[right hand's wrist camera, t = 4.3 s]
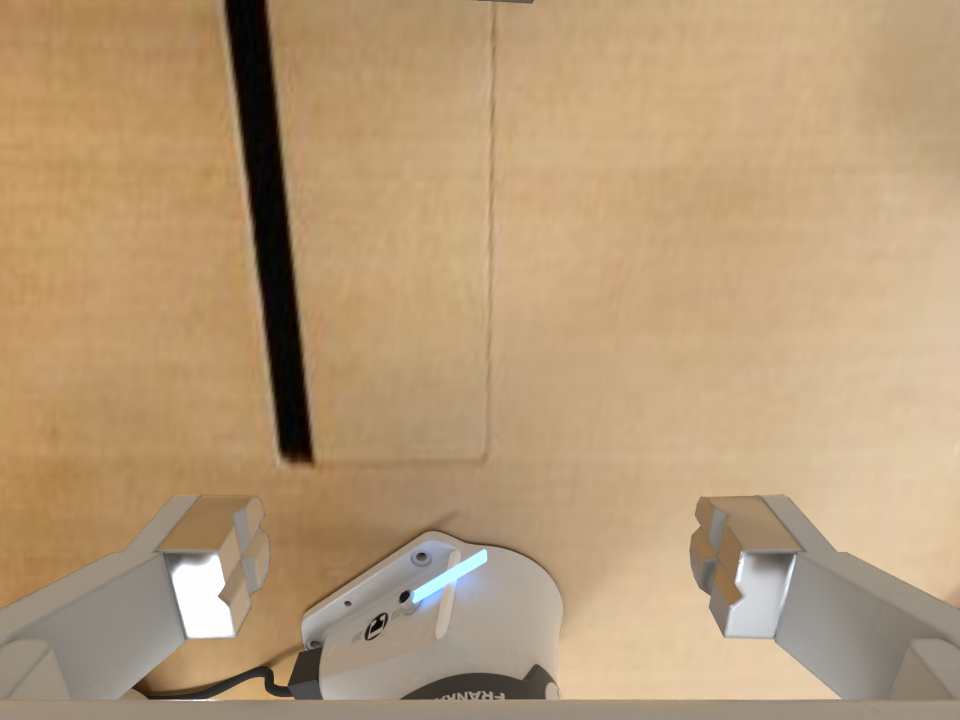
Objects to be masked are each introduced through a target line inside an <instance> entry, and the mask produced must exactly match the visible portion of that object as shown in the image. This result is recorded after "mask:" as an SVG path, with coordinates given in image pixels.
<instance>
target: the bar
mask: <svg viewBox="0 0 960 720" xmlns="http://www.w3.org/2000/svg"><path fill="white" fill-rule="evenodd" d="M479 1H497V2H514V3H533V1H534V0H479Z"/></svg>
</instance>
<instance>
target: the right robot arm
mask: <svg viewBox="0 0 960 720" xmlns="http://www.w3.org/2000/svg"><path fill="white" fill-rule="evenodd" d="M264 516H265V513H264V508H263V503H262V500H261V499H260V498H259V497H258V496H232V495H204V496H203V495H177V496H173V497H171V498H170V499H169V500H168V501H167V502H166V503H165V505H164V506H163V507H162V508H161V509H160V510H159V511H158V512H157V514H156V515H155V516H154V517H153V518H152V519H151V520H150V522H149V523H148V524H147V525H146V526H145V527H144V528H143V529H142V531H141V532H140V533H139V534H138V535H137V536H136V537H135V538H134V540H133V541H132V542H131V543H130V544H129V545H128V546H127V547H126V549H125V550H124V551H123V552H113V553H111V554H109V555H107V556H105V557H103V558H101V559H99V560H97V561H95V562H93V563H91V564H89V565H87V566H85V567H83V568H81V569H79V570H77V571H75V572H73V573H71V574H69V575H67V576H65V577H64V578H62V579H60V580H58V581H56V582H54V583H52V584H50V585H48V586H46V587H44V588H42V589H40V590H38V591H36V592H34V593H32V594H30V595H28V596H26V597H24V598H22V599H20V600H18V601H16V602H14V603H12V604H10V605H8V606H6V607H4V608H2V609H0V720H960V610H959V609H957V608H956V607H954V606H952V605H950V604H948V603H946V602H944V601H942V600H940V599H938V598H936V597H934V596H932V595H930V594H928V593H926V592H924V591H922V590H920V589H918V588H916V587H914V586H912V585H910V584H908V583H906V582H904V581H902V580H900V579H898V578H896V577H894V576H892V575H890V574H888V573H886V572H885V571H883V570H881V569H879V568H877V567H875V566H873V565H871V564H869V563H867V562H865V561H863V560H861V559H859V558H857V557H855V556H853V555H851V554H849V553H847V552H837V551H836V550H835V549H834V548H833V546H832V545H831V544H830V543H829V542H828V541H827V540H826V538H825V537H824V536H823V535H822V534H821V533H820V532H819V531H818V529H817V528H816V527H815V526H814V525H813V524H812V523H811V522H810V520H809V519H808V518H807V517H806V516H805V515H804V514H803V513H802V511H801V510H800V509H799V508H798V507H797V506H796V505H795V503H794V502H793V501H792V500H791V499H790V498H789V497H787V496H785V495H783V494H781V495H755V496H716V497H700V499H699V501H698V503H697V507H696V512H695V516H696V518H697V520H698V522H699V523H700V525H701V526H700V527H699V528H698V529H697V530H696V531H695V532H694V533H693V534H692V536H691V544H690V561H691V568H692V571H693V575H694V578H695V580H696V582H697V584H698V586H699V588H700V589H702V590H703V591H704V592H706V593H707V594H709V595H710V596H711V598H710V604H709V608H710V610H711V612H712V614H713V616H714V618H715V620H716V622H717V624H718V626H719V628H720V630H721V632H722V634H723V636H724V638H747V639H775V642H776V643H777V644H778V645H779V646H780V647H782V648H783V649H784V650H785V651H786V652H787V653H789V654H790V655H791V656H792V657H793V658H795V659H796V660H797V661H798V662H799V663H800V664H802V665H803V666H804V667H805V668H806V669H808V670H809V671H810V672H811V673H812V674H813V675H815V676H816V677H817V678H818V679H819V680H820V681H822V682H823V683H824V684H825V685H826V686H828V687H829V688H830V689H831V690H832V691H833V692H835V693H836V694H837V695H838V696H839V697H841V698H842V699H834V700H563V698H562V695H561V693H560V690H559V688H558V645H559V635H560V629H561V624H562V619H563V602H562V597H561V594H560V592H559V589H558V587H557V585H556V584H555V582H554V580H553V579H552V578H551V576H550V575H549V574H548V573H547V572H546V571H545V570H544V569H543V568H542V567H541V566H539V565H538V564H537V563H535V562H534V561H532V560H531V559H529V558H527V557H525V556H523V555H521V554H519V553H516V552H514V551H511V550H507V549H504V548H499V547H493V546H484V545H474V544H468V543H464V542H462V541H460V540H458V539H456V538H454V537H452V536H449V535H447V534H444V533H441V532H437V531H429V532H426V533H424V534H422V535H420V536H419V537H417V538H416V539H414V540H413V541H411V542H410V543H408V544H407V545H405V546H404V547H402V548H401V549H399V550H398V551H396V552H395V553H393V554H392V555H390V556H389V557H387V558H386V559H384V560H383V561H381V562H380V563H378V564H377V565H375V566H374V567H372V568H371V569H369V570H368V571H366V572H365V573H363V574H362V575H360V576H359V577H357V578H356V579H354V580H353V581H351V582H350V583H348V584H347V585H345V586H344V587H342V588H341V589H339V590H338V591H336V592H335V593H333V594H332V595H330V596H329V597H327V598H326V599H324V600H323V601H321V602H320V603H318V604H317V605H315V606H314V607H312V608H311V609H309V610H308V611H307V612H306V613H305V614H304V615H303V619H302V623H301V634H302V640H303V644H304V646H305V649H306V651H303V652H299V655H298V658H297V660H296V663H295V666H294V669H293V672H292V675H291V677H290V680H289V683H288V687H284V686H278V685H275V684H274V674H273V671H272V670H271V669H269V668H265V667H260V668H255V669H252V670H250V671H247V672H245V673H242V674H240V675H238V676H235V677H233V678H230V679H228V680H227V681H225V682H223V683H221V684H219V685H217V686H214V687H212V688H210V689H207V690H204V691H201V692H197V693H191V694H184V695H175V696H145V697H146V698H148V699H149V700H117V699H118V698H120V697H121V696H122V695H123V694H124V693H125V692H127V691H128V690H129V689H130V688H131V687H133V686H134V685H135V684H136V683H137V682H139V681H140V680H141V679H142V678H143V677H144V676H146V675H147V674H148V673H149V672H150V671H152V670H153V669H154V668H155V667H156V666H157V665H159V664H160V663H161V662H162V661H163V660H165V659H166V658H167V657H168V656H169V655H170V654H172V653H173V652H174V651H175V650H176V649H178V648H179V647H180V646H181V645H182V644H183V643H185V639H212V638H236V636H237V634H238V632H239V630H240V628H241V626H242V624H243V622H244V620H245V618H246V616H247V614H248V612H249V610H250V608H251V604H250V598H249V596H250V595H251V594H253V593H254V592H256V591H257V590H258V589H260V588H261V586H262V584H263V582H264V580H265V577H266V575H267V571H268V566H269V562H270V542H269V536H268V534H267V533H266V532H265V531H264V530H263V529H262V528H261V527H260V526H259V525H260V523H261V522H262V520H263V518H264ZM418 553H425V555H420V554H418ZM254 677H265V689H266V691H267V692H269V693H270V694H272V695H274V696H278V697H294V698H295V700H204V699H207V698H210V697H213V696H215V695H217V694H220V693H222V692H224V691H226V690H228V689H230V688H231V687H233V686H235V685H237V684H239V683H241V682H243V681H245V680H248V679H250V678H254Z"/></svg>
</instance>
